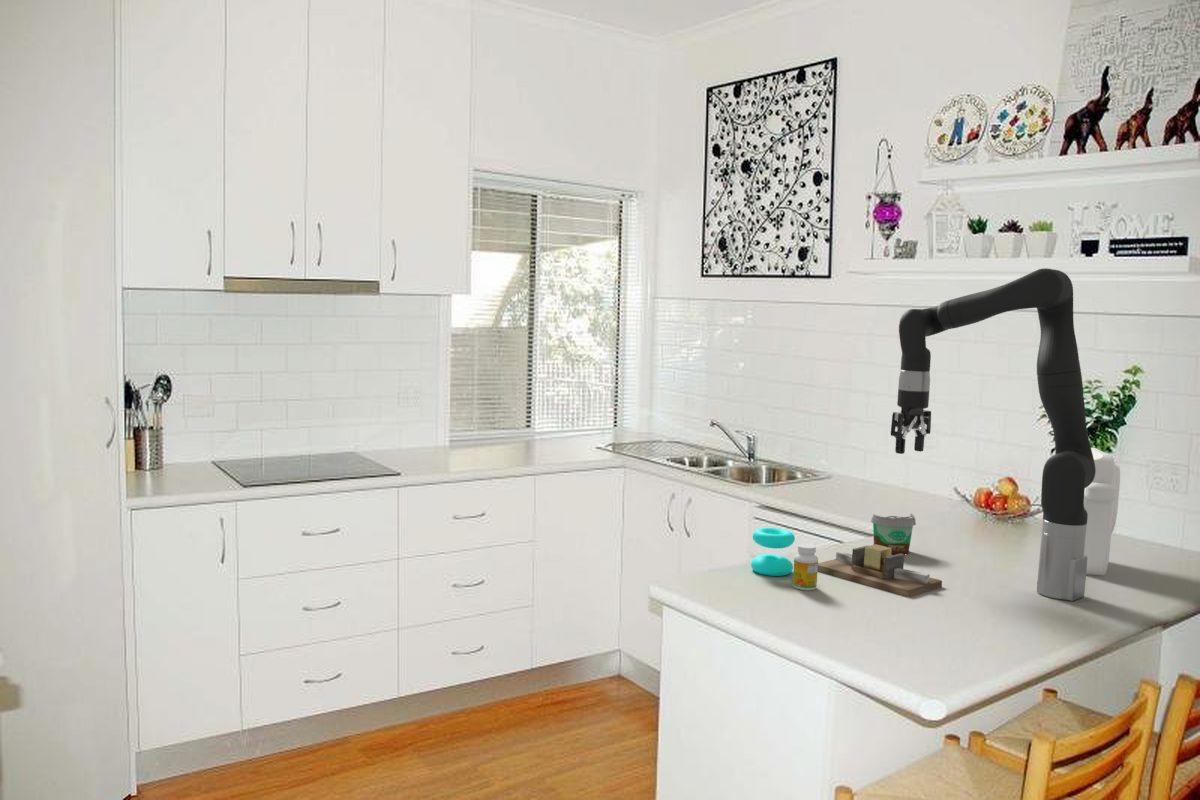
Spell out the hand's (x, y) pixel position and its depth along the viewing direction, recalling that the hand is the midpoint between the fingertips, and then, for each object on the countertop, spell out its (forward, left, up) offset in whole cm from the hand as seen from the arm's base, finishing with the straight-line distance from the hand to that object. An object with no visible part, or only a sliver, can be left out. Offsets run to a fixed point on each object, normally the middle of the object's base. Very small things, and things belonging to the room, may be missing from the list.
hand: (909, 452), depth 253 cm
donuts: (+12, +37, -28) cm, 48 cm away
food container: (+5, -5, -28) cm, 29 cm away
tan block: (-6, +20, -27) cm, 34 cm away
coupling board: (-6, +20, -28) cm, 35 cm away
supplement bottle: (-1, +41, -28) cm, 50 cm away
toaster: (-30, -38, -28) cm, 56 cm away
